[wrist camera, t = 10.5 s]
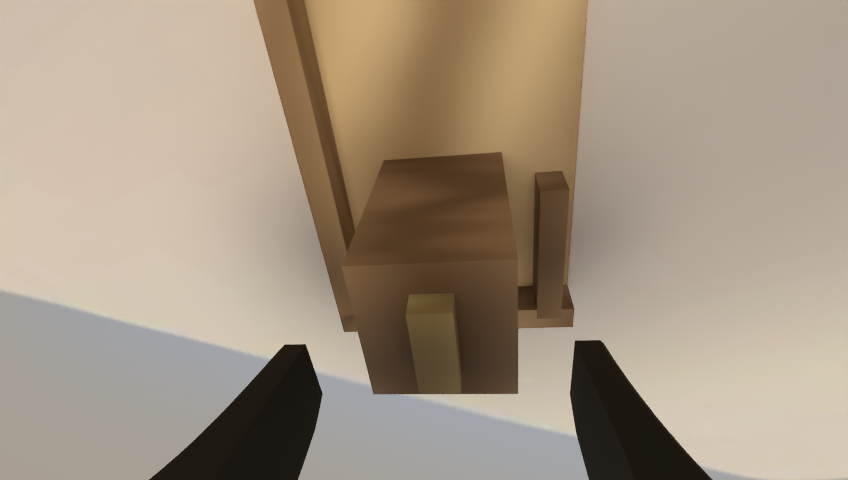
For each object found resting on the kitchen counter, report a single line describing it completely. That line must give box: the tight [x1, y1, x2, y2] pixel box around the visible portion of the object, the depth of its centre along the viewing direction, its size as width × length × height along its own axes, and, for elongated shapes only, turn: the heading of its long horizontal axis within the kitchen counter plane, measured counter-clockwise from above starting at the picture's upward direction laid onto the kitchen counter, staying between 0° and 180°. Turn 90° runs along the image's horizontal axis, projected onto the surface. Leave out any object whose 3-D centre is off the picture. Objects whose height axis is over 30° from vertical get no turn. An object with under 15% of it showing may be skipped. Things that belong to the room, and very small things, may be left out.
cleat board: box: [254, 0, 588, 332], centre depth 16 cm, size 10×18×2 cm, turn 6°
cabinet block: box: [341, 152, 518, 394], centre depth 16 cm, size 4×5×8 cm
